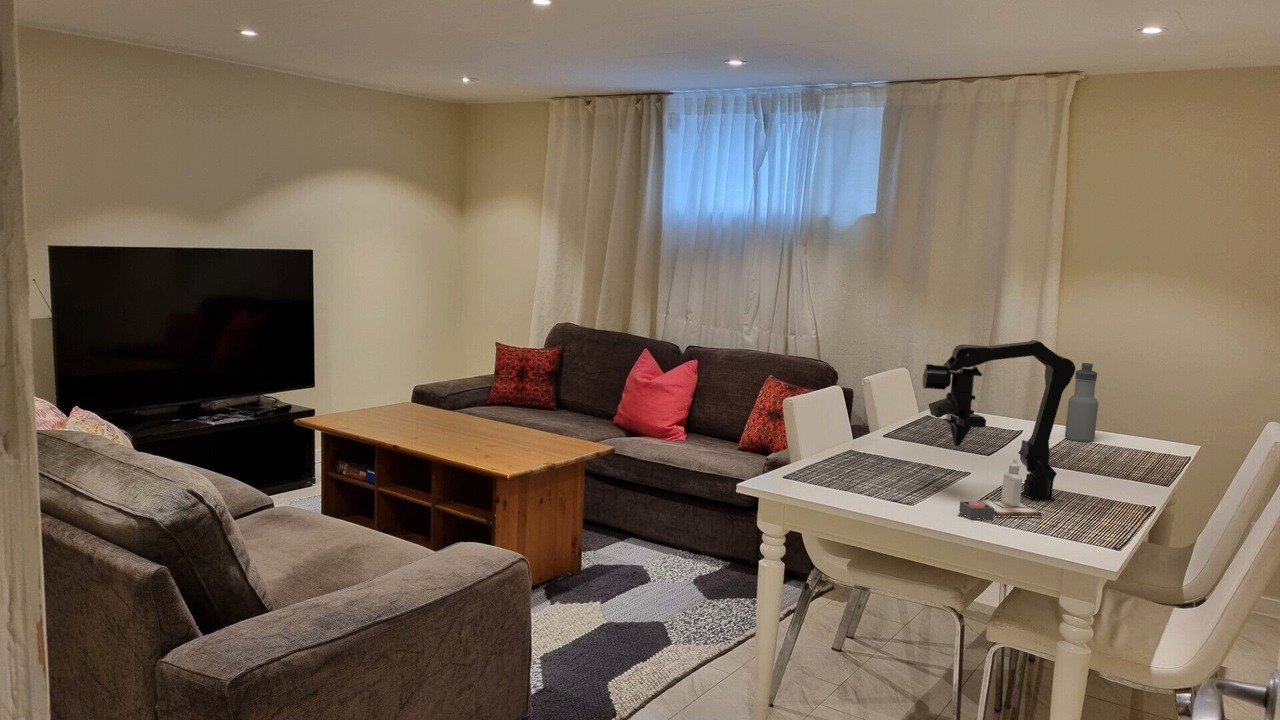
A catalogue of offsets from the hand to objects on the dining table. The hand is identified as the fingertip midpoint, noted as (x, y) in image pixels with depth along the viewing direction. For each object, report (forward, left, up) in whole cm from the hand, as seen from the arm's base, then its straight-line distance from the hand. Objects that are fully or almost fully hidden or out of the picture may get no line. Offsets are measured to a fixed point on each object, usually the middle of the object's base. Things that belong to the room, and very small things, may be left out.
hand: (956, 445), depth 255 cm
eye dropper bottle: (-8, +17, -12) cm, 22 cm away
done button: (+5, +23, -12) cm, 26 cm away
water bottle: (-83, -68, -13) cm, 108 cm away
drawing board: (-6, +19, -13) cm, 23 cm away
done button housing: (+5, +23, -13) cm, 26 cm away
